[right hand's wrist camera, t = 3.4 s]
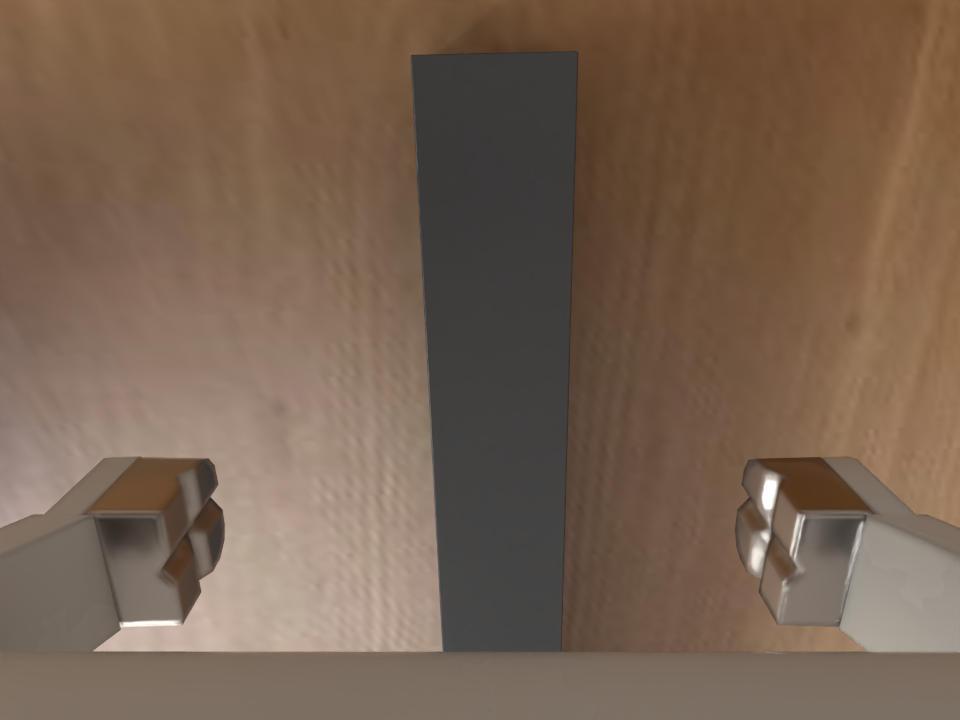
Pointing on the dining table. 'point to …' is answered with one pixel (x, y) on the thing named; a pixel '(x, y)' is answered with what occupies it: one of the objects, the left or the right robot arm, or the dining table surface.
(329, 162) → the dining table surface
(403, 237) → the dining table surface
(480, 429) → the post
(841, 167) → the dining table surface
